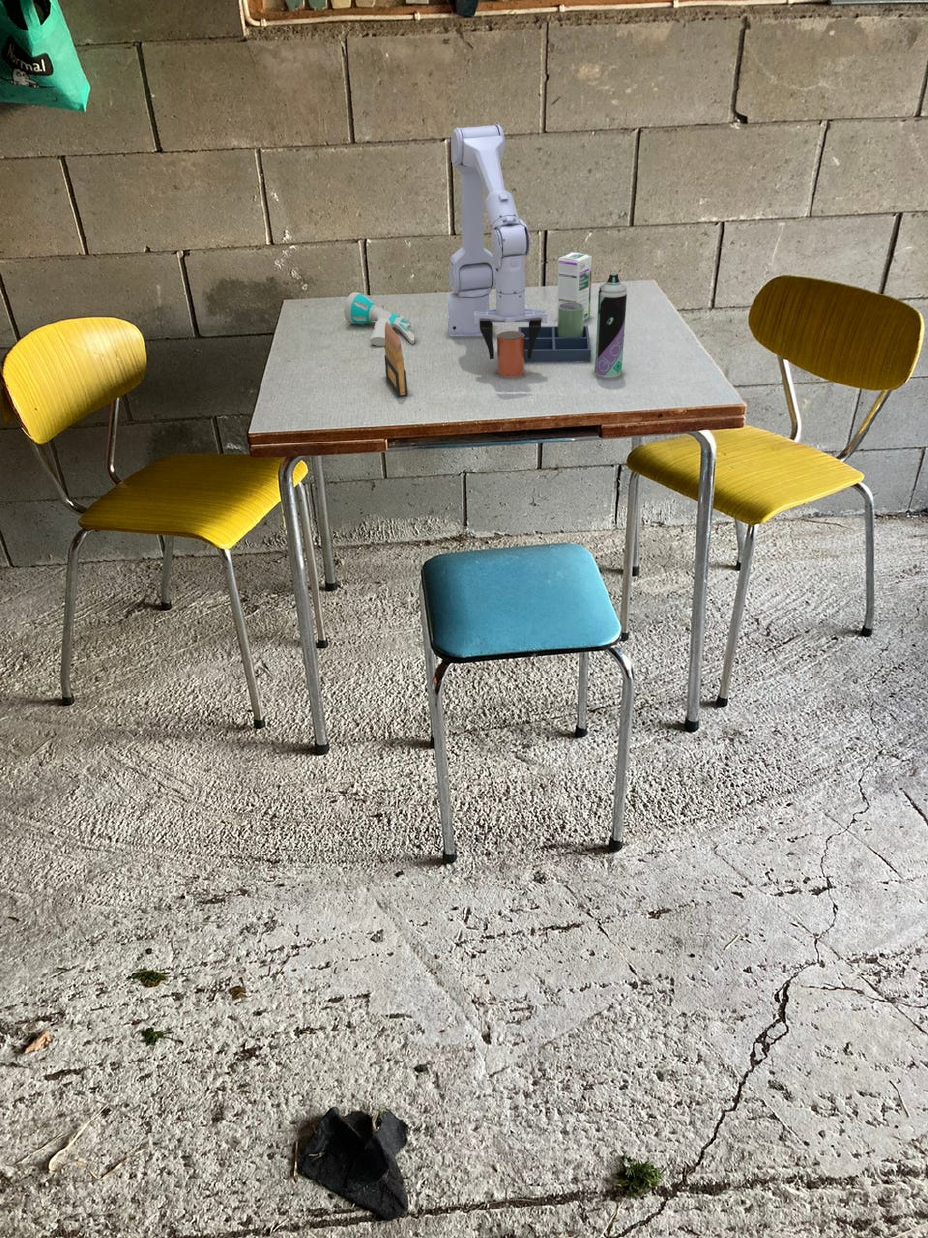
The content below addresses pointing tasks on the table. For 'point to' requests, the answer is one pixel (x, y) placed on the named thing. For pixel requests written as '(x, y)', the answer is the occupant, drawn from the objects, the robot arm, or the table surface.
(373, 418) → the table surface
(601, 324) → the spray can
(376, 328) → the garden hose nozzle
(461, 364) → the table surface
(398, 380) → the ammunition clip
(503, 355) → the terracotta cup
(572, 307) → the sage cup
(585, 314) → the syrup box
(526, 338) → the cup rack
